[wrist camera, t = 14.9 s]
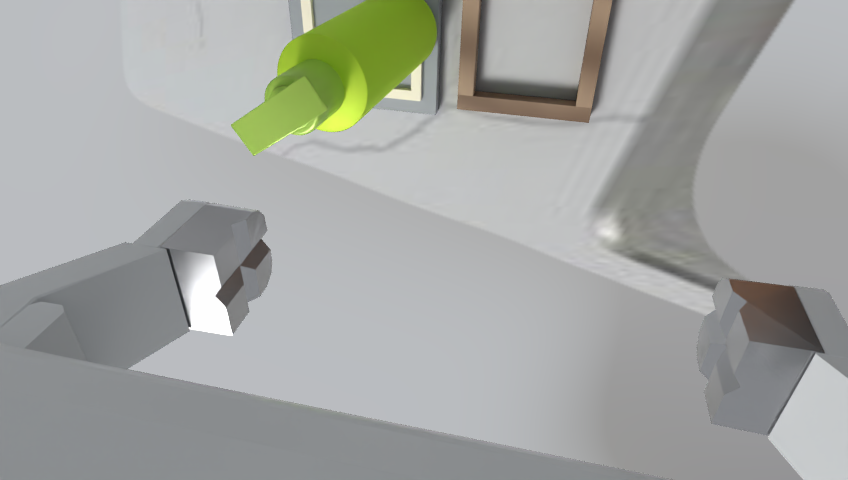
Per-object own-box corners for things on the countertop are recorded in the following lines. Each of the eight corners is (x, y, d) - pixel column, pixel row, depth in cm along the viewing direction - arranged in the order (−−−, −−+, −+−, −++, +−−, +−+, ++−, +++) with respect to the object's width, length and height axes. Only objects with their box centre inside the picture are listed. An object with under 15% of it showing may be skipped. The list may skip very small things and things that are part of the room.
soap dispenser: (462, 38, 43) (348, 149, 28) (392, 80, 47) (256, 199, 31) (420, -37, 41) (272, 38, 26) (350, 14, 45) (184, 105, 29)
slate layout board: (286, -72, 43) (278, -69, 42) (444, -63, 41) (440, -61, 40) (303, 96, 51) (297, 102, 50) (438, 110, 49) (434, 116, 48)
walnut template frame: (468, -49, 42) (465, -47, 41) (618, -41, 40) (619, -38, 39) (459, 103, 48) (457, 108, 47) (588, 116, 46) (588, 122, 45)
